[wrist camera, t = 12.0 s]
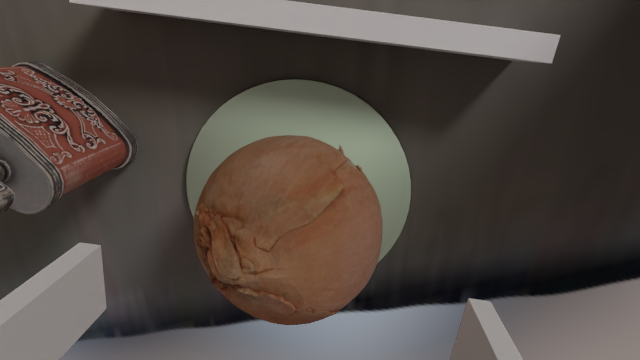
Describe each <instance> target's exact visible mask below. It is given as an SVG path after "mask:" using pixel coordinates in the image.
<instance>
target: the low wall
mask: <svg viewBox="0 0 640 360" xmlns="http://www.w3.org/2000/svg"><path fill="white" fill-rule="evenodd" d="M69 2H71V3H76V4H82V5H88V6H94V7H100V8H105V9H111V10H117V11H125V12H132V13H140V14H148V15H156V16H164V17H172V18H180V19H188V20H196V21H203V22H211V23H219V24H227V25H235V26H243V27H251V28H259V29H266V30H274V31H282V32H290V33H298V34H306V35H314V36H322V37H330V38H337V39H345V40H353V41H361V42H369V43H377V44H385V45H393V46H401V47H408V48H416V49H424V50H432V51H440V52H448V53H456V54H464V55H472V56H479V57H487V58H495V59H503V60H511V61H524V62H538V63H552V61H553V58H554V55H555V52H556V48H557V45H558V42H559V39H560V36H561V35H556V34H548V33H540V32H532V31H524V30H516V29H508V28H500V27H492V26H484V25H476V24H468V23H461V22H453V21H445V20H437V19H429V18H421V17H413V16H405V15H397V14H389V13H381V12H373V11H366V10H358V9H350V8H342V7H334V6H326V5H318V4H310V3H302V2H294V1H286V0H69Z"/></svg>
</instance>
